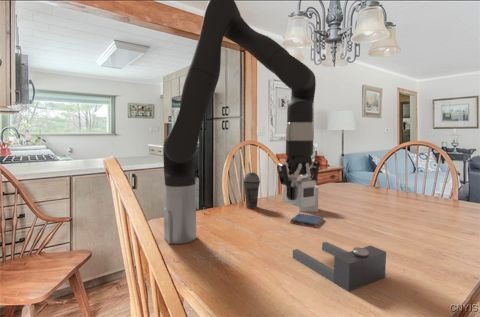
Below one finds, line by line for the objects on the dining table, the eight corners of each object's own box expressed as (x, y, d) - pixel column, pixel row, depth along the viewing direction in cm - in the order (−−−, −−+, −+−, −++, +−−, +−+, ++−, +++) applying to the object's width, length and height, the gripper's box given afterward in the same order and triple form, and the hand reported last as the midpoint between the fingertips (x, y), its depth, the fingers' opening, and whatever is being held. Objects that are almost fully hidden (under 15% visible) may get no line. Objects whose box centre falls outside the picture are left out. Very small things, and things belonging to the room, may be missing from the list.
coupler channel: (348, 291, 57) (349, 259, 56) (292, 257, 73) (293, 232, 72) (385, 277, 63) (386, 248, 62) (325, 248, 79) (326, 225, 78)
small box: (316, 208, 121) (316, 184, 120) (318, 212, 115) (318, 187, 114) (297, 207, 122) (297, 184, 121) (298, 211, 116) (299, 186, 115)
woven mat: (325, 221, 105) (325, 216, 104) (317, 229, 95) (317, 223, 95) (298, 217, 110) (298, 212, 110) (288, 224, 101) (288, 219, 101)
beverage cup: (260, 209, 119) (260, 163, 117) (243, 209, 119) (243, 163, 117) (259, 205, 126) (259, 161, 124) (243, 205, 126) (243, 161, 124)
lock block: (302, 208, 74) (302, 182, 73) (283, 201, 81) (283, 177, 81) (315, 205, 77) (316, 180, 76) (296, 199, 84) (296, 176, 83)
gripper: (309, 138, 84) (308, 193, 86) (270, 139, 77) (270, 198, 79) (328, 138, 78) (326, 198, 79) (287, 139, 71) (286, 204, 72)
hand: (298, 198), depth 79 cm, fingers closed on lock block, 5 cm apart
